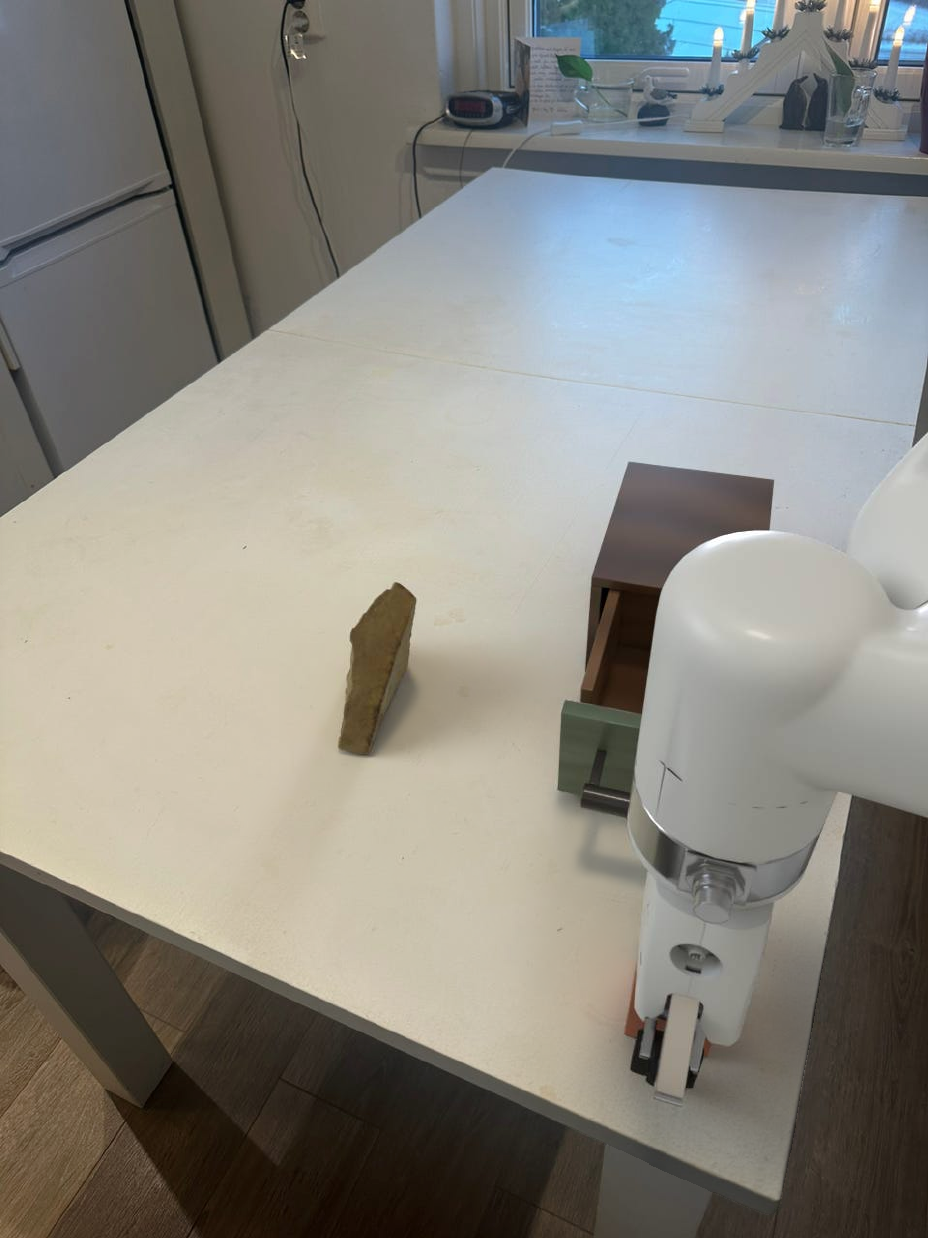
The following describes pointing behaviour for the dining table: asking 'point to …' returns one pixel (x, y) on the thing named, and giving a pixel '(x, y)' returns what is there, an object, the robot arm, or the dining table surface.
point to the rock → (376, 665)
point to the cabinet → (669, 526)
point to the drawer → (609, 707)
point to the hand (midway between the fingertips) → (672, 1000)
